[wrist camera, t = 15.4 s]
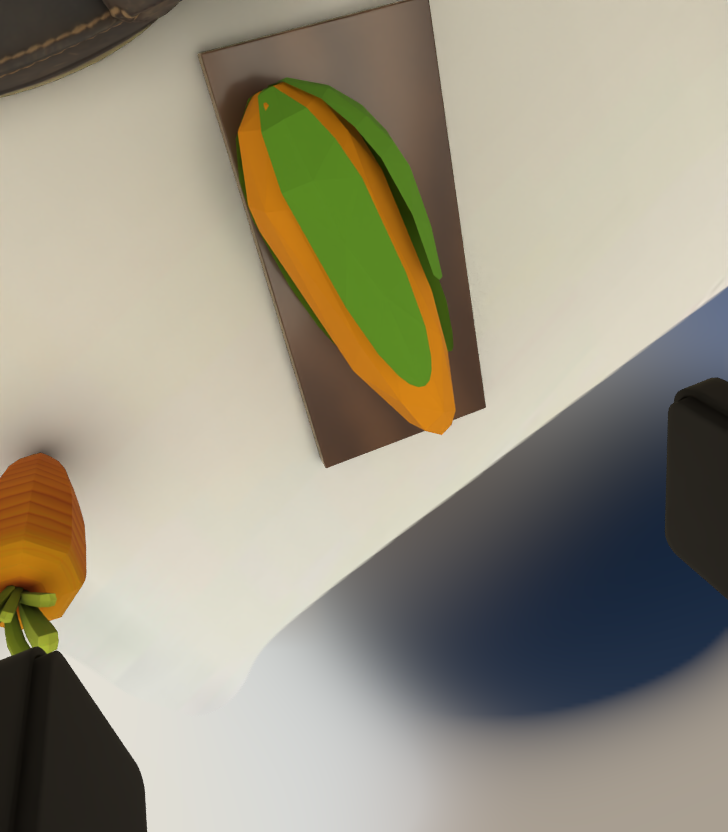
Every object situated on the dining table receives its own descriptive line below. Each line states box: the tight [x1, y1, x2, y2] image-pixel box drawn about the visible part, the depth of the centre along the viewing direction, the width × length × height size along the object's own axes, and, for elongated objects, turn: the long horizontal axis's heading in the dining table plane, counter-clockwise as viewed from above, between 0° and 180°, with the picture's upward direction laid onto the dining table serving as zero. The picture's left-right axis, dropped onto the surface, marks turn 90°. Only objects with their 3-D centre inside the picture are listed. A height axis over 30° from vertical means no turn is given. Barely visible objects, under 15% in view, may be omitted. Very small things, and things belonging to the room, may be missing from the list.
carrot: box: [0, 453, 86, 655], centre depth 30 cm, size 5×5×15 cm
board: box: [198, 0, 486, 468], centre depth 37 cm, size 11×23×1 cm, turn 12°
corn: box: [236, 77, 456, 435], centre depth 33 cm, size 7×8×20 cm
